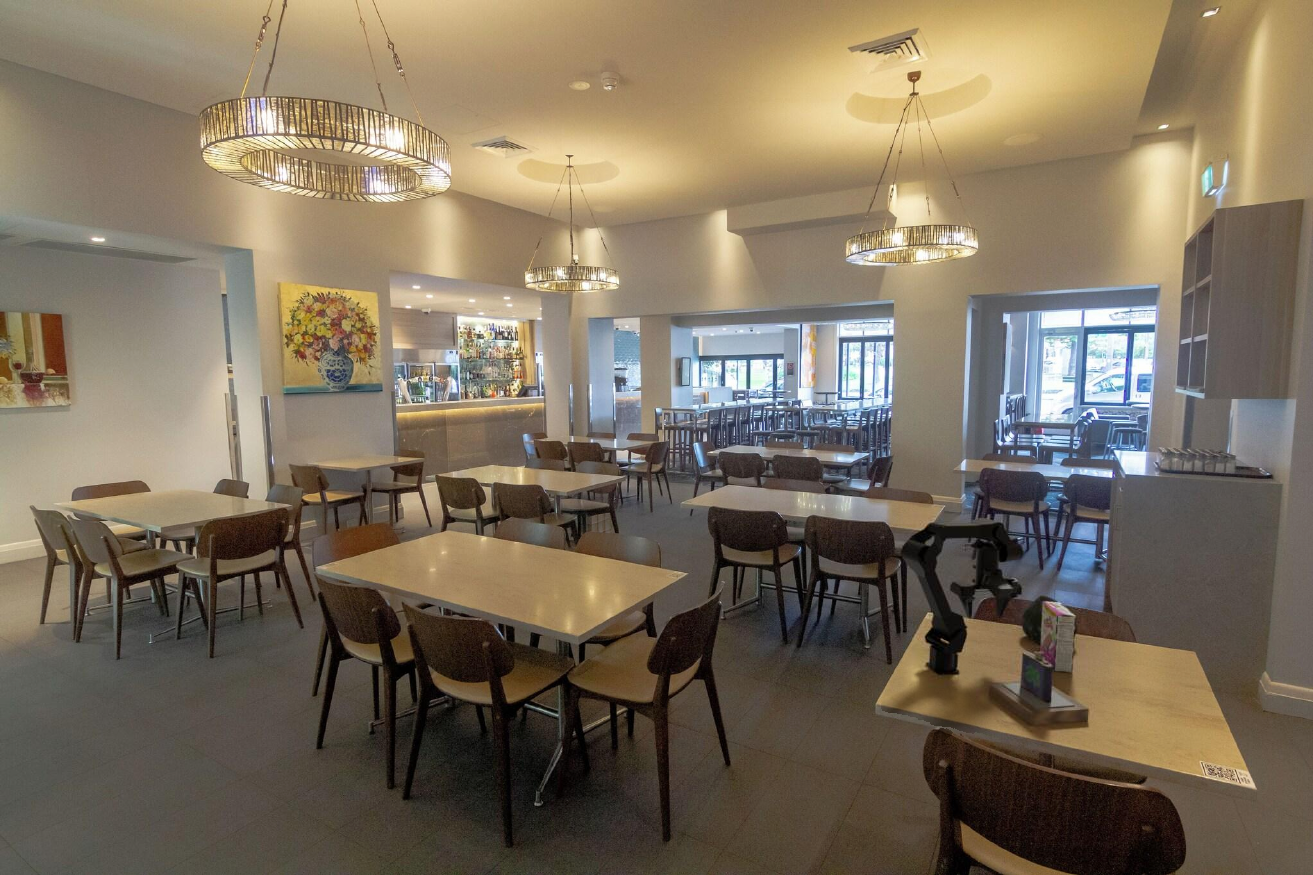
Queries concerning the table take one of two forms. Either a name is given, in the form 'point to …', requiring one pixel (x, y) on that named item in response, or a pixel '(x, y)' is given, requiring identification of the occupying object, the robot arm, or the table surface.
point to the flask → (1037, 676)
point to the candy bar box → (1058, 636)
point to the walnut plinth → (1038, 704)
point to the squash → (1036, 618)
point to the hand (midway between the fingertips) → (984, 617)
